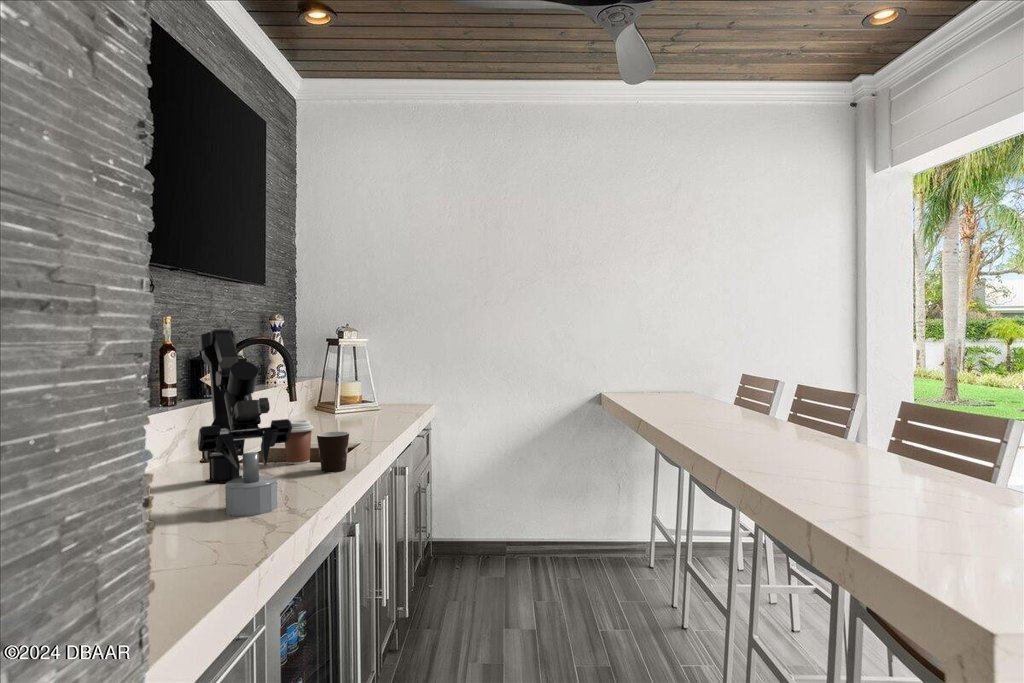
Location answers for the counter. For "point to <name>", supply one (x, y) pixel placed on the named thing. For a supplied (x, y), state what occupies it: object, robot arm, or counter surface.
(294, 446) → the coffee cup
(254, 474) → the slate cloche
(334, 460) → the coffee mug
